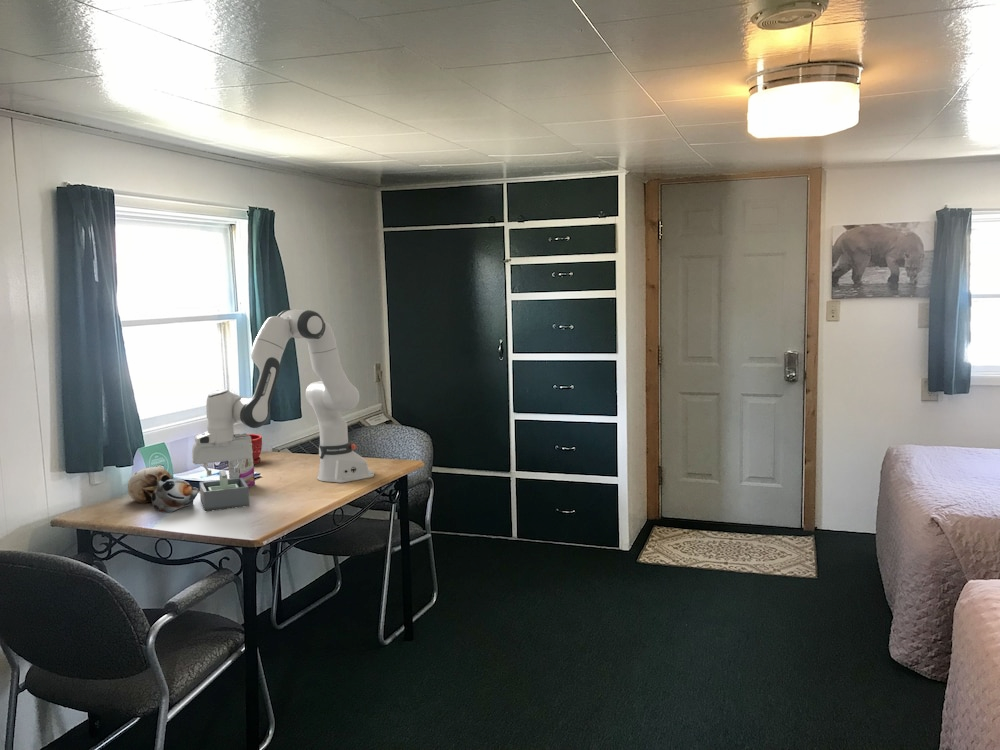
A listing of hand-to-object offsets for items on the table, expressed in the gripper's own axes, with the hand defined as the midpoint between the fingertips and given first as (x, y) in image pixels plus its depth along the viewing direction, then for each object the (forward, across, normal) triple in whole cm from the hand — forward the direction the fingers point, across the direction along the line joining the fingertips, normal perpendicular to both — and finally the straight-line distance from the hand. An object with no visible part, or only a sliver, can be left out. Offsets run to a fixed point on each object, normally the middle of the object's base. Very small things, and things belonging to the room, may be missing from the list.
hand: (223, 473), depth 296 cm
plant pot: (+11, -17, -61) cm, 64 cm away
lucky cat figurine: (+11, +16, -2) cm, 20 cm away
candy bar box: (+11, -9, -20) cm, 25 cm away
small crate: (+10, 0, 0) cm, 10 cm away
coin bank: (+11, +21, -16) cm, 29 cm away
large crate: (+11, 0, 0) cm, 11 cm away
